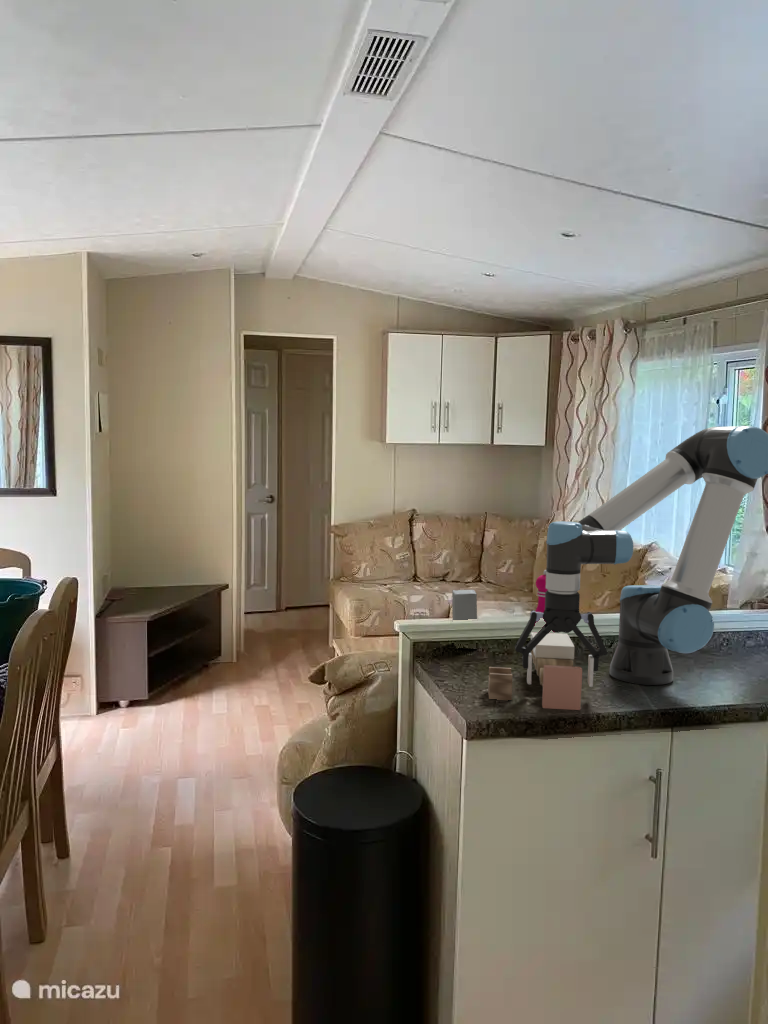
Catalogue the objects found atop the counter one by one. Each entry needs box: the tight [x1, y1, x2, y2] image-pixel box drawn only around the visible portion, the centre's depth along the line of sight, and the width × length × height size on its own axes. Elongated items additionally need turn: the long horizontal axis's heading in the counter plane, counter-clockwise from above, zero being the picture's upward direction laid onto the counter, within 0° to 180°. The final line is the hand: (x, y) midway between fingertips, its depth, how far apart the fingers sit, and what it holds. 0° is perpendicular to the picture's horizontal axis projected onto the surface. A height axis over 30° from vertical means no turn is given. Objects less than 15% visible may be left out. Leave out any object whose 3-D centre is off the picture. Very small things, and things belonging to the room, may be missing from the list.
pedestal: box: [487, 666, 514, 701], centre depth 184 cm, size 5×6×6 cm
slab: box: [530, 631, 576, 660], centre depth 197 cm, size 9×13×3 cm
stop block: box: [541, 665, 583, 711], centre depth 176 cm, size 8×2×9 cm, turn 85°
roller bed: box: [530, 650, 574, 687], centre depth 192 cm, size 8×30×7 cm, turn 175°
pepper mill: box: [535, 569, 548, 613], centre depth 243 cm, size 7×7×20 cm
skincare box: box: [451, 589, 478, 621], centre depth 228 cm, size 8×7×16 cm
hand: (559, 683), depth 183 cm, fingers open, 13 cm apart
